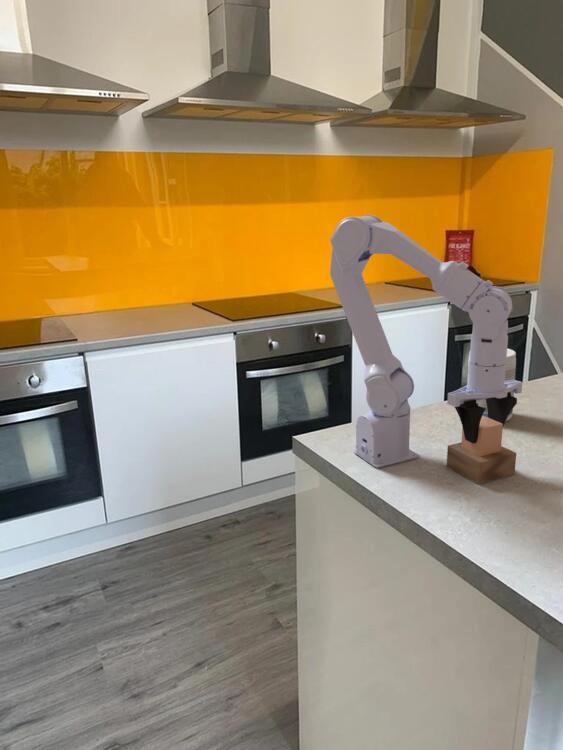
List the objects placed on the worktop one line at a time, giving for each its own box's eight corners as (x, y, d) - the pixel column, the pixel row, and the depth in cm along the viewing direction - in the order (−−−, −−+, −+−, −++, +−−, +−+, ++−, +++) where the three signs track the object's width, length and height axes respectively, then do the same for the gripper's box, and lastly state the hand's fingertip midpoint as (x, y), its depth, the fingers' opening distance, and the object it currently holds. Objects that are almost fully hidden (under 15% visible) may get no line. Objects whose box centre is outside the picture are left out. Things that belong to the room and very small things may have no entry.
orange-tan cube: (480, 456, 98) (482, 428, 97) (461, 446, 102) (462, 420, 101) (500, 451, 100) (502, 423, 99) (481, 441, 104) (483, 415, 103)
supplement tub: (501, 408, 132) (506, 345, 127) (519, 423, 122) (525, 355, 118) (458, 410, 131) (462, 347, 127) (474, 426, 122) (478, 358, 118)
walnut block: (478, 484, 97) (480, 462, 96) (446, 466, 104) (447, 445, 103) (514, 474, 100) (516, 452, 99) (481, 457, 107) (482, 437, 106)
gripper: (470, 374, 90) (465, 455, 94) (539, 361, 96) (531, 437, 100) (440, 364, 96) (437, 440, 100) (506, 352, 102) (500, 424, 106)
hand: (482, 438), depth 101 cm, fingers closed on orange-tan cube, 5 cm apart
